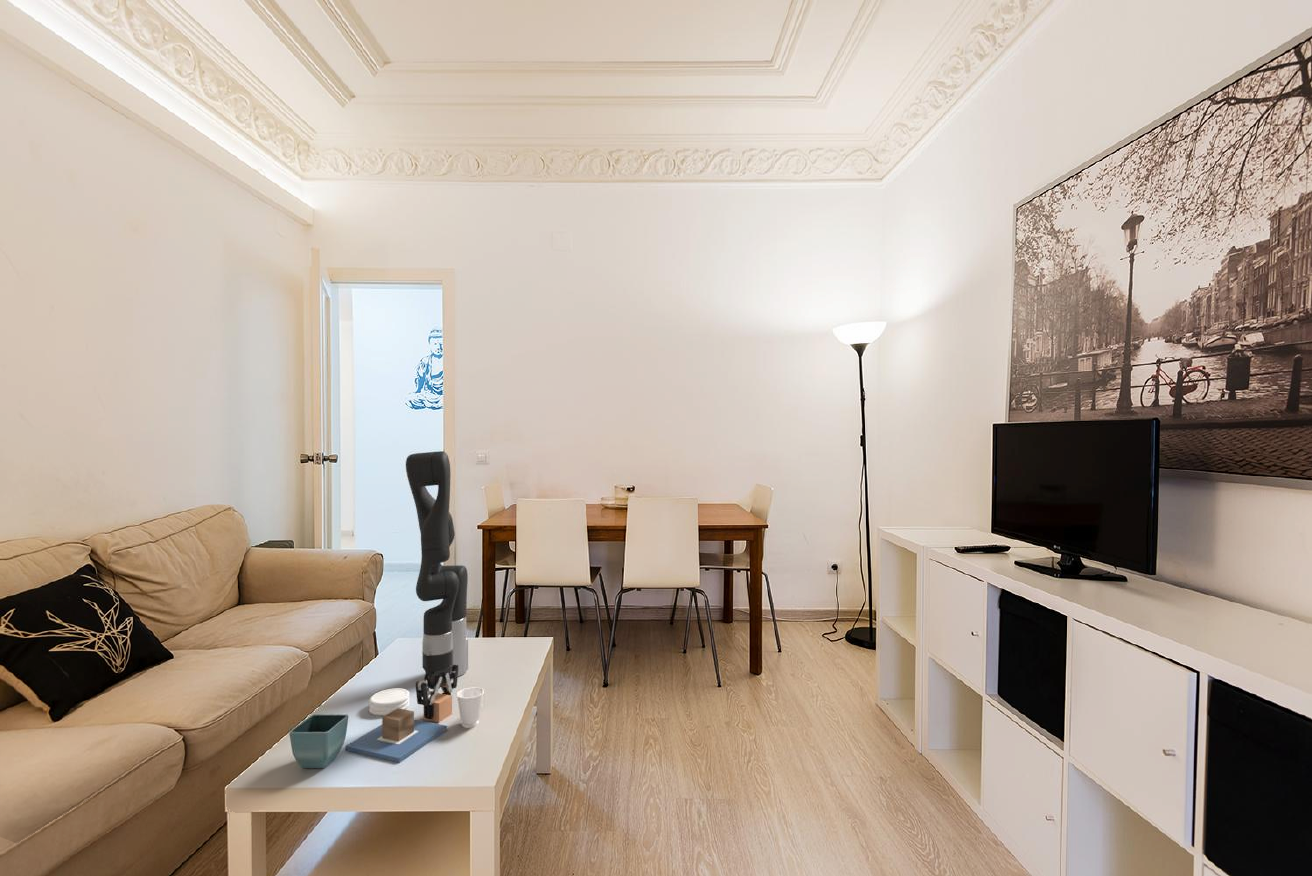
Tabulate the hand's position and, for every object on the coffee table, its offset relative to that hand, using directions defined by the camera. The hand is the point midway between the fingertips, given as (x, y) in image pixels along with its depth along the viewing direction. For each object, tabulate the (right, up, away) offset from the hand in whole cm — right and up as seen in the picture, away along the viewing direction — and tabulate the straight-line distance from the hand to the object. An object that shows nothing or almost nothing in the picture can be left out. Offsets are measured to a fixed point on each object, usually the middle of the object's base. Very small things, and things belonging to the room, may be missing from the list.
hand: (437, 712), depth 156 cm
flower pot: (-18, -1, -22) cm, 29 cm away
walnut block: (-5, 0, -12) cm, 13 cm away
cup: (+10, -1, -2) cm, 10 cm away
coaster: (-15, -2, +5) cm, 16 cm away
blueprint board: (-5, -1, -12) cm, 13 cm away
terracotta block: (0, -1, 0) cm, 1 cm away
